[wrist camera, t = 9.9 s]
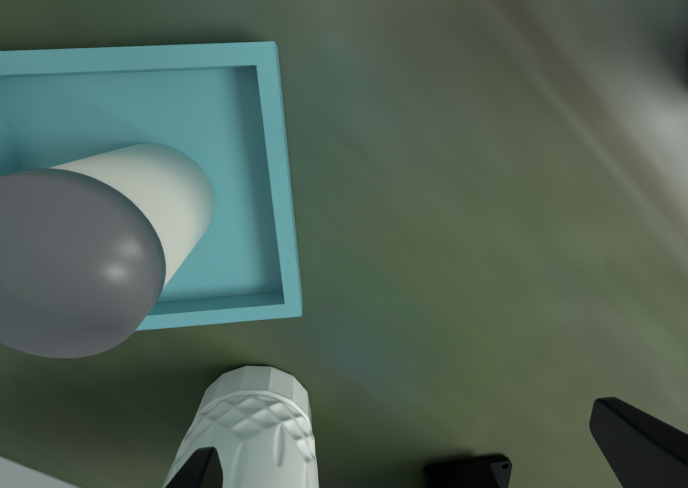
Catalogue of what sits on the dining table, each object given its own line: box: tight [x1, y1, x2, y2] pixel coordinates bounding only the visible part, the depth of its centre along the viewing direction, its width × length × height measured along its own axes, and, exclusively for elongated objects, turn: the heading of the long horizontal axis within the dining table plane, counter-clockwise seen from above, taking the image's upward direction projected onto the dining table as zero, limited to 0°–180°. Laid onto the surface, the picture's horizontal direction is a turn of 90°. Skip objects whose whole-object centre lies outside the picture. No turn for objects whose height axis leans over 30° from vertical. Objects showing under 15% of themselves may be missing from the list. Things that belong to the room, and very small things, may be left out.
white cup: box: [162, 366, 319, 488], centre depth 19 cm, size 8×8×10 cm
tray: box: [0, 41, 302, 331], centre depth 17 cm, size 13×13×2 cm
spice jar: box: [0, 143, 215, 359], centre depth 14 cm, size 5×5×8 cm
